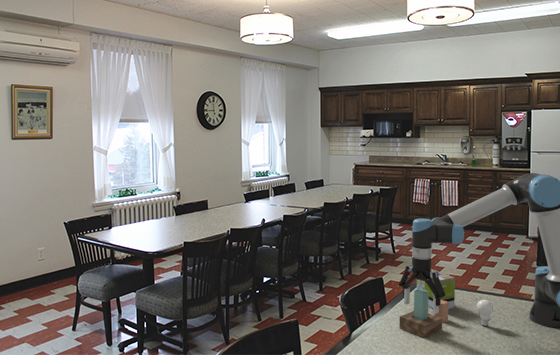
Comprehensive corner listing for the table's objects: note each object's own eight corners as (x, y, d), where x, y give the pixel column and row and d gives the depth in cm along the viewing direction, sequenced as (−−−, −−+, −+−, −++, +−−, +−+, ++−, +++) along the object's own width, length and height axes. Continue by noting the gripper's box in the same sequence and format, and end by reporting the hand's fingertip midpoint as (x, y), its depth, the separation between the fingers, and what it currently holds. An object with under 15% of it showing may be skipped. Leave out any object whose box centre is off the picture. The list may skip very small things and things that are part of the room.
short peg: (448, 320, 198) (448, 301, 197) (442, 322, 195) (443, 304, 194) (439, 317, 201) (440, 299, 200) (434, 319, 198) (434, 301, 198)
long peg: (427, 329, 188) (428, 291, 187) (422, 332, 186) (422, 293, 184) (419, 326, 191) (420, 288, 190) (413, 328, 189) (414, 290, 188)
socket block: (442, 329, 188) (442, 317, 187) (424, 338, 180) (425, 325, 180) (416, 320, 197) (416, 309, 197) (399, 328, 190) (399, 316, 189)
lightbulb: (483, 329, 187) (483, 303, 186) (472, 323, 194) (473, 298, 193) (496, 327, 189) (497, 301, 188) (485, 321, 195) (486, 296, 194)
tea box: (415, 301, 221) (416, 271, 219) (431, 298, 225) (432, 268, 224) (438, 311, 207) (439, 279, 206) (455, 308, 211) (455, 276, 210)
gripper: (390, 252, 193) (390, 302, 195) (444, 265, 174) (443, 319, 176) (401, 250, 198) (401, 298, 200) (455, 261, 179) (454, 314, 181)
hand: (420, 308), depth 188 cm, fingers open, 13 cm apart
